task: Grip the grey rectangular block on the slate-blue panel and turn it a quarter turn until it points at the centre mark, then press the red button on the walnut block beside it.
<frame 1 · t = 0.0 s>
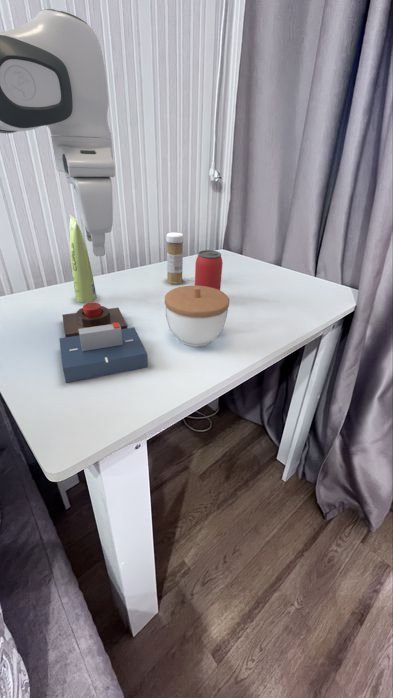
hand: (95, 247, 59), 18 cm above the table, tool pointing down, fingers open, 8 cm apart
button block: (95, 329, 70), on the table
tap panel: (104, 359, 61), on the table
tube: (86, 299, 83), on the table
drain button: (92, 310, 68), point 4 cm above the table, slide at 0.1 cm
sprinkles bottle: (174, 282, 95), on the table
beer can: (206, 300, 86), on the table
grey rectangular block: (100, 336, 59), point 5 cm above the table, hinge at 0.0°
lidded bowl: (195, 338, 69), on the table
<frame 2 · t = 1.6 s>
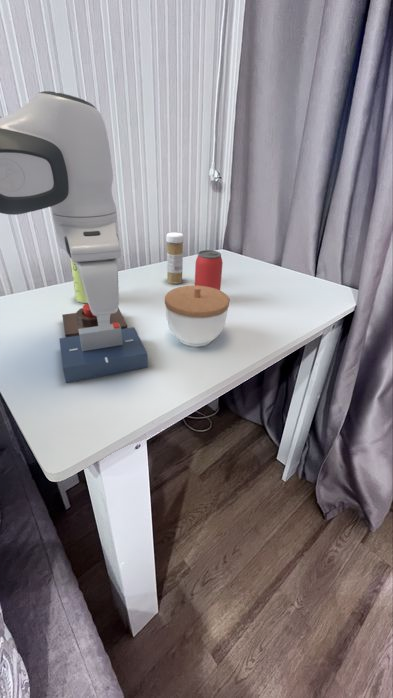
hand: (100, 315, 56), 9 cm above the table, tool pointing down, fingers open, 8 cm apart
nothing on the table moved.
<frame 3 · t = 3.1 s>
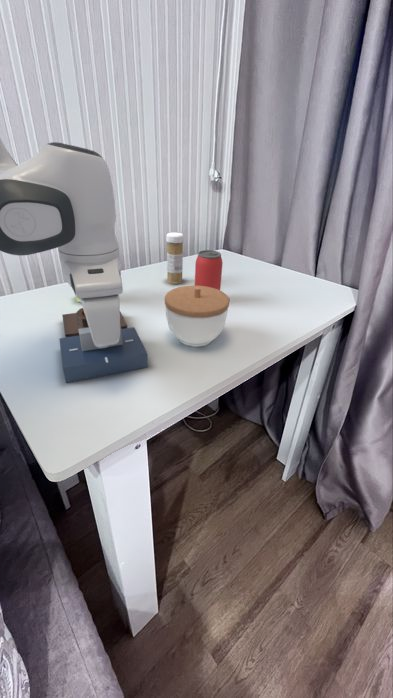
hand: (101, 341, 59), 4 cm above the table, tool pointing down, fingers closed on grey rectangular block, 2 cm apart
grey rectangular block: (100, 336, 59), point 5 cm above the table, hinge at 0.0°, touching gripper
everything else where it was.
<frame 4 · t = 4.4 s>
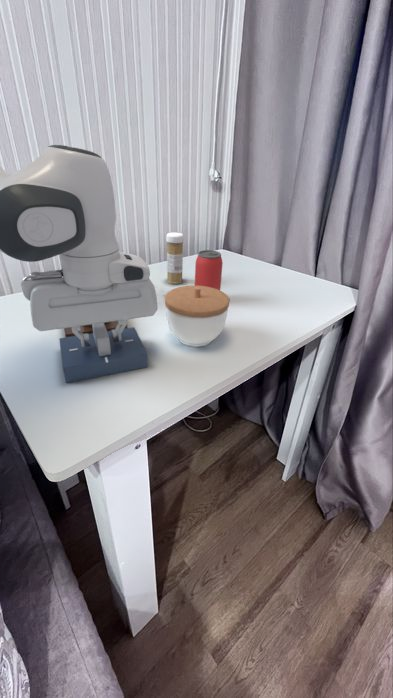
hand: (101, 342, 59), 4 cm above the table, tool pointing down, fingers open, 4 cm apart
grey rectangular block: (100, 336, 59), point 5 cm above the table, hinge at 90.1°
everything else where it was.
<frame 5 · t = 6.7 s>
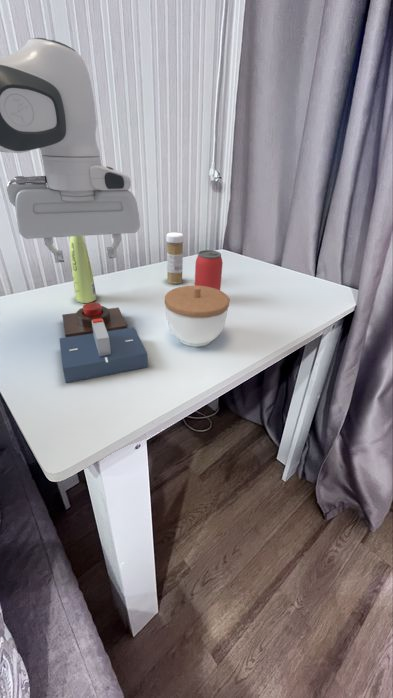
hand: (86, 259, 62), 15 cm above the table, tool pointing down, fingers open, 8 cm apart
nothing on the table moved.
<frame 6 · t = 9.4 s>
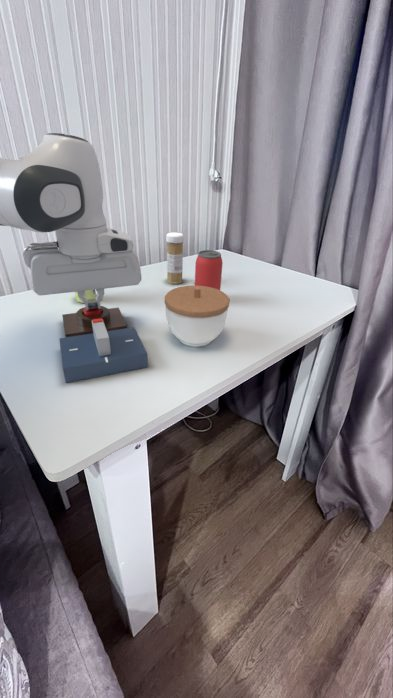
hand: (93, 308, 68), 5 cm above the table, tool pointing down, fingers closed, pressing on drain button
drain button: (92, 312, 68), point 4 cm above the table, slide at -0.5 cm, touching gripper
everything else where it was.
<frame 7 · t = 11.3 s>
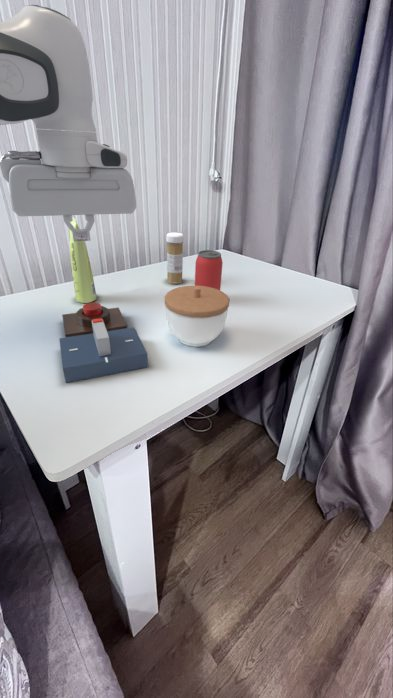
hand: (81, 240, 61), 19 cm above the table, tool pointing down, fingers closed
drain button: (92, 310, 68), point 4 cm above the table, slide at 0.1 cm
everything else where it was.
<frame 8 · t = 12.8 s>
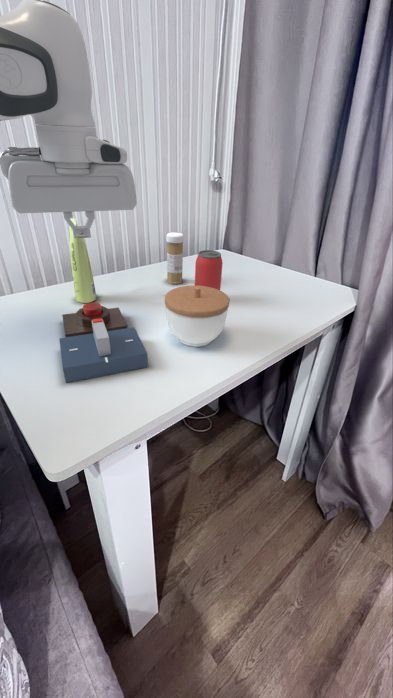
hand: (82, 237, 60), 19 cm above the table, tool pointing down, fingers closed
nothing on the table moved.
at the end: grey rectangular block at +90° (first picture: +0°); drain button pushed in 1.1 cm at the most during the clip, back to where it started at the end; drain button slide at 0.1 cm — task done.
